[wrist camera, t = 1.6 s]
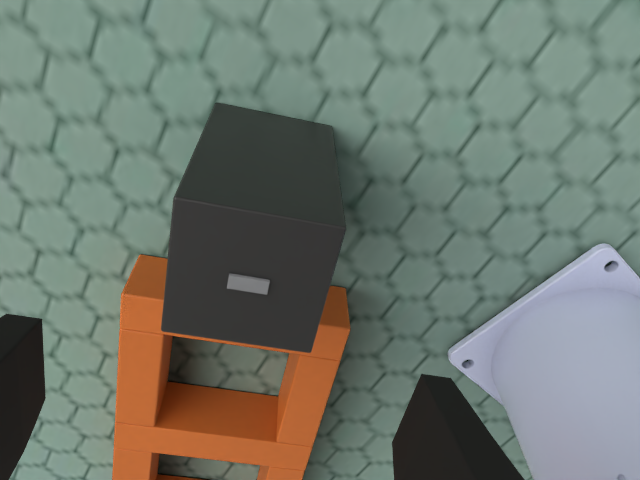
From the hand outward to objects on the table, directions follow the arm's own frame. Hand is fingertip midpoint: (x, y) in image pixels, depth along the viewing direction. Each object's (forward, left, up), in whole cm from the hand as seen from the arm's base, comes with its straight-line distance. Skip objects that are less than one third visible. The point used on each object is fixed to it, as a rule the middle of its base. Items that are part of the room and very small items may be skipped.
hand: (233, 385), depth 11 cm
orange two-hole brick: (-6, +10, -10) cm, 16 cm away
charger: (0, 0, -10) cm, 10 cm away
